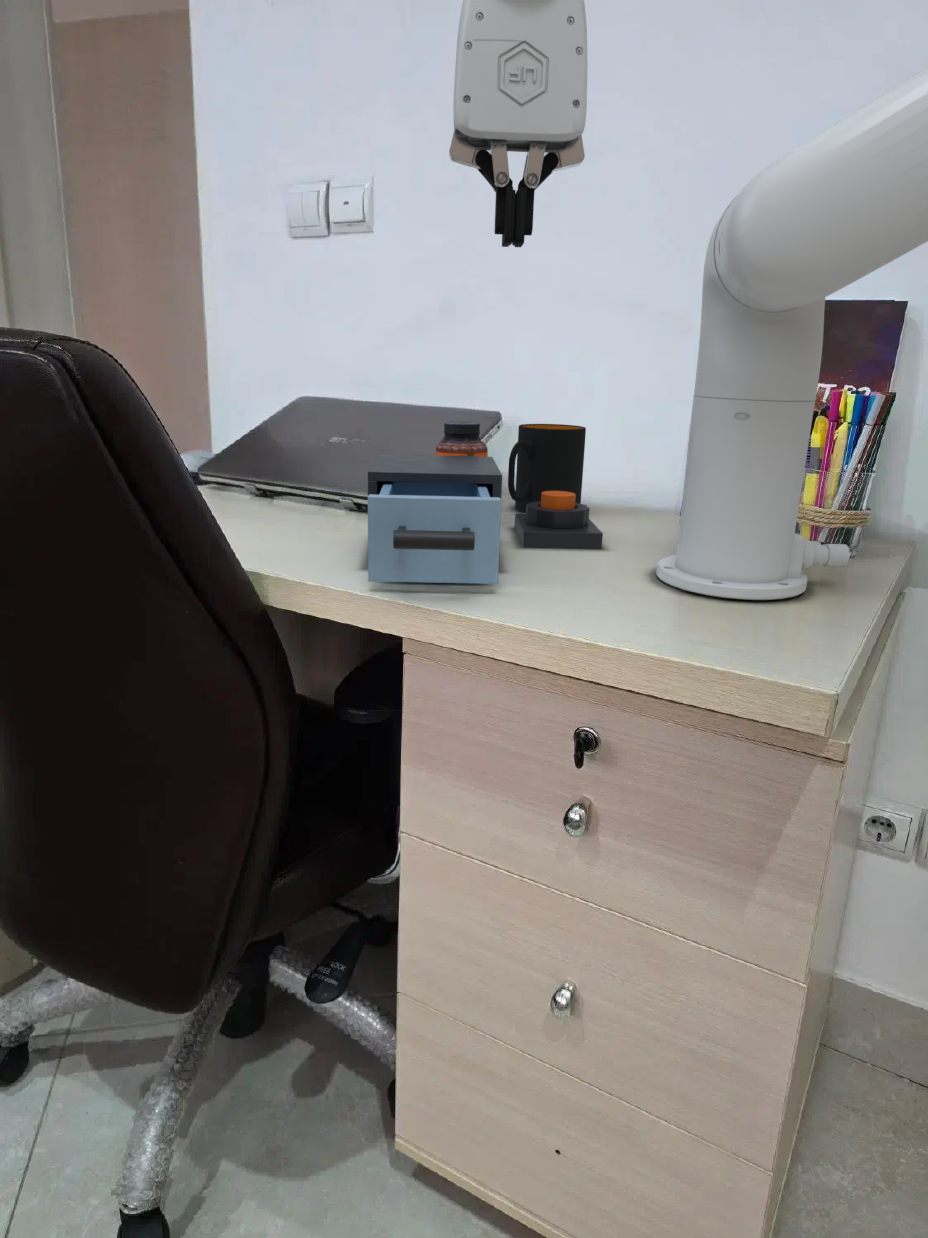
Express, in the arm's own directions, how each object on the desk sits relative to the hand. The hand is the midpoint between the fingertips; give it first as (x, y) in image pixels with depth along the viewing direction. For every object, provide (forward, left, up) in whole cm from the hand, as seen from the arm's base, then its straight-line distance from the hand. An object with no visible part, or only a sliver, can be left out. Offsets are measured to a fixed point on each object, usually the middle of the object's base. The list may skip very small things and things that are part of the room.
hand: (512, 244), depth 68 cm
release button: (-7, -13, -24) cm, 28 cm away
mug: (-7, -29, -27) cm, 40 cm away
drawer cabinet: (+6, -5, -27) cm, 28 cm away
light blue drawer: (+6, +5, -26) cm, 27 cm away
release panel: (-7, -13, -27) cm, 31 cm away
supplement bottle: (+3, -21, -27) cm, 35 cm away
